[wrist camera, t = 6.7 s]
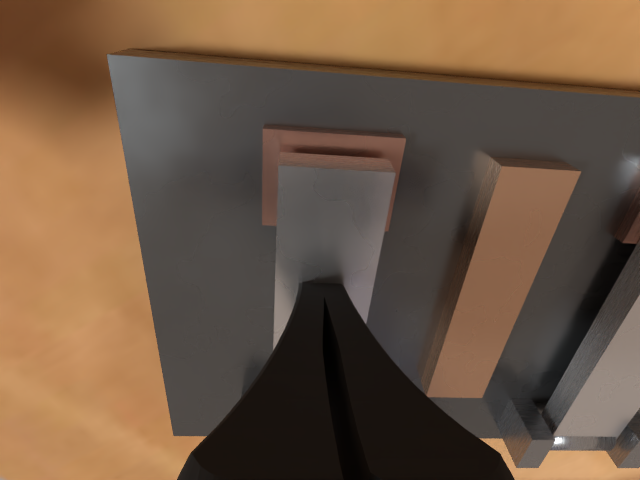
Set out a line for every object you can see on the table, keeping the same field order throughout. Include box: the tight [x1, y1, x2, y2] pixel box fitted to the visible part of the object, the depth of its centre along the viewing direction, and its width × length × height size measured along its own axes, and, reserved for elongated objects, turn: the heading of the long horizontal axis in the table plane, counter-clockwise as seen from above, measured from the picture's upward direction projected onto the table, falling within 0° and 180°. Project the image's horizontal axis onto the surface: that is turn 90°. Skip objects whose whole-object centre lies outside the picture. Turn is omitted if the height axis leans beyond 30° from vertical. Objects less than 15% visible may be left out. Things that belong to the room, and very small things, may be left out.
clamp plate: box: [107, 49, 640, 468], centre depth 15 cm, size 16×24×4 cm, turn 85°
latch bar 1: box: [273, 152, 396, 350], centre depth 14 cm, size 13×3×1 cm, turn 175°
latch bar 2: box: [541, 240, 640, 451], centre depth 15 cm, size 13×3×1 cm, turn 175°
